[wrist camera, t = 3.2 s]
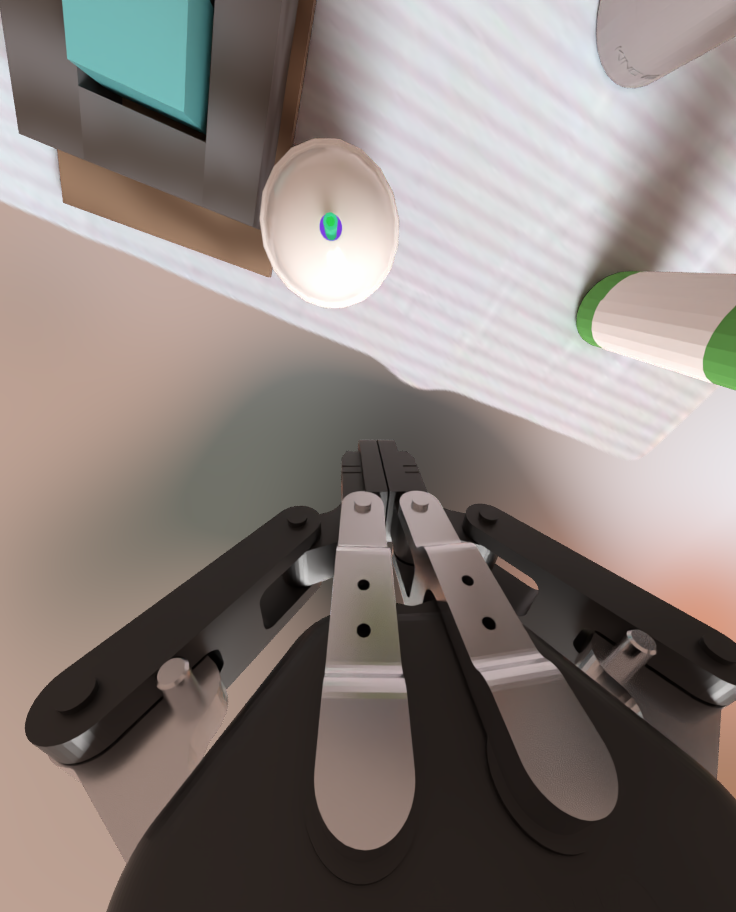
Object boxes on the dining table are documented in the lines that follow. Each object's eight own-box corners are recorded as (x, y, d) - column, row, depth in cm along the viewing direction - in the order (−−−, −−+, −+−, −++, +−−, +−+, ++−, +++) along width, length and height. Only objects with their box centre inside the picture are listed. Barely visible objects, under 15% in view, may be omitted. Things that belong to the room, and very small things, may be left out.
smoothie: (272, 256, 31) (199, 249, 14) (315, 164, 28) (288, 7, 11) (344, 309, 34) (357, 355, 17) (391, 231, 31) (463, 192, 14)
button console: (25, -279, 17) (-111, -520, 12) (329, -77, 21) (328, -187, 16) (73, 204, 27) (11, 191, 22) (271, 277, 32) (258, 279, 26)
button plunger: (102, -53, 19) (51, -123, 15) (213, 8, 20) (189, -43, 17) (109, 90, 22) (67, 58, 18) (205, 134, 23) (184, 112, 20)
